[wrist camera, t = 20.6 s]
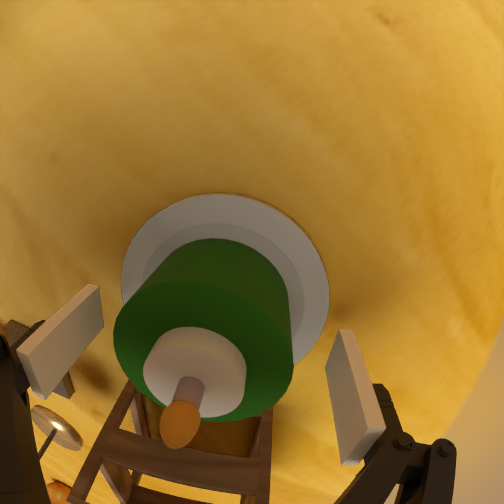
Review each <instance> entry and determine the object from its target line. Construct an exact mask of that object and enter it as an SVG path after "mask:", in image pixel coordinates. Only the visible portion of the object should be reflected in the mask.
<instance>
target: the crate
mask: <svg viewBox="0 0 504 504" xmlns="http://www.w3.org/2000/svg"><path fill="white" fill-rule="evenodd" d="M141 394H143V393H141V392H140V391H139V390H138V389H137V388H136V387H135V385H134V384H133V383H132V382H131V381H130V380H128V382H127V384H126V385H125V387H124V389H123V391H122V393H121V394H120V396H119V398H118V400H117V402H116V404H115V405H114V407H113V409H112V411H111V413H110V415H109V416H108V418H107V420H106V422H105V424H104V426H103V428H102V430H101V431H100V433H99V435H98V437H97V439H96V441H95V443H94V445H93V447H92V449H91V451H90V453H89V455H88V457H87V458H86V460H85V462H84V464H83V466H82V468H81V470H80V472H79V474H78V476H77V479H76V481H75V483H74V485H73V487H72V489H71V491H70V493H69V495H68V497H67V499H66V501H67V502H68V503H69V504H90V503H87V502H85V500H86V497H87V495H88V493H89V491H90V489H91V486H92V484H93V482H94V480H95V477H96V475H97V473H98V471H99V469H100V470H101V472H102V474H103V475H104V477H105V479H106V481H107V482H108V484H109V485H110V487H111V489H112V490H113V492H114V493H115V495H116V497H117V498H118V500H119V501H120V503H121V504H211V503H206V502H200V501H195V500H191V499H186V498H181V497H177V496H173V495H169V494H165V493H161V492H158V491H154V490H151V489H147V488H144V487H141V486H138V484H139V481H140V479H141V476H142V474H145V475H149V476H152V477H156V478H159V479H163V480H167V481H171V482H175V483H179V484H183V485H188V486H192V487H197V488H202V489H208V490H213V491H219V492H226V493H233V494H241V500H240V504H269V495H270V473H271V447H272V415H273V406H271V407H270V408H269V409H268V410H266V411H264V412H262V413H260V414H258V415H256V416H253V417H257V418H261V419H260V422H259V425H258V429H257V432H256V436H255V439H254V442H253V445H252V449H251V452H250V455H249V458H244V457H236V456H230V455H223V454H217V453H212V452H206V451H201V450H196V449H192V448H187V447H182V448H178V449H171V448H169V447H167V446H166V445H165V444H164V442H162V441H159V440H155V439H152V438H149V436H148V431H147V426H146V421H145V415H144V409H143V403H142V397H141ZM129 406H130V408H131V412H132V417H133V421H134V425H135V430H136V434H135V433H132V432H129V431H126V430H123V429H120V428H119V427H120V425H121V423H122V421H123V419H124V416H125V414H126V412H127V410H128V408H129ZM257 458H258V459H257ZM128 469H130V470H133V472H132V475H130V472H129V470H128Z"/></svg>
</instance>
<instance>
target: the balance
mask: <svg viewBox="0 0 504 504" xmlns="http://www.w3.org/2000/svg"><path fill="white" fill-rule="evenodd" d="M4 327H5V330H6V333H7V336H8V339H9V342H10V345H11V346H12V345H13V344H14V343H15V342H16V341H17V340H18V339H19V338H20V337H21V336H22V335H24V333H25V332H27V331H28V330H29V329H30V328H28V327H26V326H23V325H21V324H19V323H17V322H15V321H12V320H10V321H9V322H8V323H7V324H5V325H4ZM52 392H55V393H57V394H59V395H61V396H63V397H66V398H68V399H70V398H71V396H72V395H73V393H74V389H73V386H72V383H71V380H70V377H69V374H68V372H67V373H66V374H65V375H64V377H63V378H62V379H61V381H60V382H59V383H58V385H57V386H56V387H55V389H54V390H53V391H52ZM31 418H32V420H33V421H34V423H35V424H36V425H37V426H38V428H39V429H40V430H41V431H42V432H43V433H44V434H45V435H47V436H48V438H47V439H46V441H45V442H44V444H43V446H42V447H41V449H40V451H39V452H38V457H39V461H40V459H41V458H42V456H43V454H44V453H45V451H46V449H47V448H48V446H49V444H50V443H51V441H52V440H53V441H55V442H56V443H58V444H59V445H61V446H63V447H65V448H67V449H70V450H74V451H79V450H80V449H81V447H82V446H83V440H82V438H81V436H80V435H79V433H78V432H77V431H76V430H75V429H74V428H73V427H72V426H71V425H70V424H69V423H68V422H67V421H65V420H64V419H63V418H62V417H60V416H59V415H58V414H56V413H55V412H53V411H51V410H49V409H48V408H45V407H43V406H40V405H35V406H34V407H33V408H32V409H31Z"/></svg>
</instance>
